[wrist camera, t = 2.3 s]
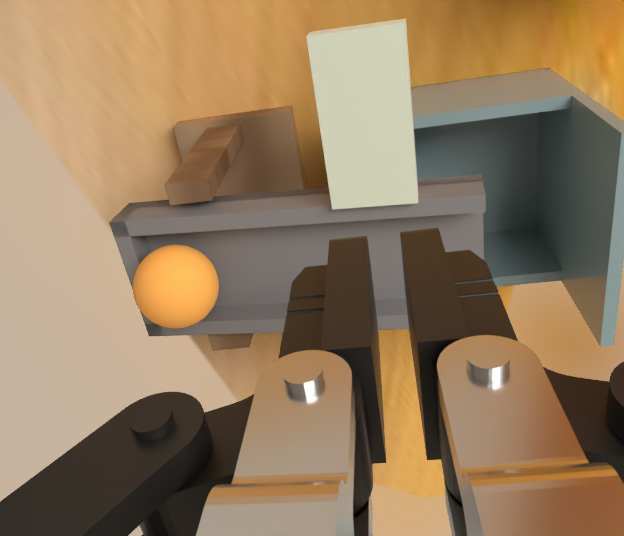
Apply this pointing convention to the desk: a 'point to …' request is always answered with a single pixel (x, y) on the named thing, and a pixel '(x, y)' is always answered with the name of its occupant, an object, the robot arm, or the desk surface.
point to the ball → (175, 286)
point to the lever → (321, 197)
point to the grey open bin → (535, 180)
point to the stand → (236, 166)
